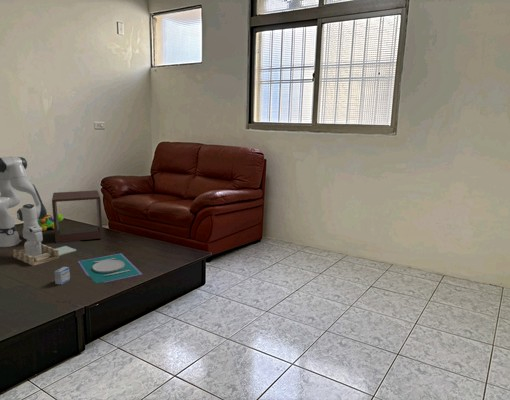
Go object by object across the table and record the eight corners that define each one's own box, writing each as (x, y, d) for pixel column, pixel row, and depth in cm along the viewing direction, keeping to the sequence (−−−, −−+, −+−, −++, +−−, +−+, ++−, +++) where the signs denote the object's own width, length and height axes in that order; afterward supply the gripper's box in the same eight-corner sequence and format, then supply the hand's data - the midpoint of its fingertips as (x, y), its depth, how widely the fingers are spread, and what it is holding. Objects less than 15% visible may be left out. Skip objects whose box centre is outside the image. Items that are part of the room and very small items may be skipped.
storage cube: (100, 228, 340) (97, 190, 333) (102, 238, 315) (100, 196, 307) (56, 232, 325) (53, 192, 318) (55, 242, 300) (51, 199, 292)
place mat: (77, 262, 265) (77, 259, 264) (121, 254, 282) (121, 251, 282) (93, 286, 229) (93, 282, 229) (142, 275, 247) (142, 271, 246)
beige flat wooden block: (31, 263, 260) (31, 260, 260) (48, 257, 271) (47, 255, 270) (35, 264, 258) (35, 261, 258) (52, 259, 268) (52, 256, 268)
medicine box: (61, 285, 227) (60, 272, 225) (55, 284, 228) (54, 271, 226) (70, 280, 235) (69, 266, 233) (63, 279, 235) (62, 266, 233)
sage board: (47, 251, 280) (47, 250, 280) (65, 246, 292) (65, 245, 291) (58, 256, 273) (58, 255, 272) (76, 250, 284) (76, 249, 284)
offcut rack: (13, 257, 268) (12, 249, 266) (39, 250, 283) (38, 242, 281) (32, 266, 254) (31, 257, 252) (59, 258, 269) (58, 250, 267)
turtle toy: (67, 226, 342) (66, 214, 340) (39, 232, 326) (38, 218, 323) (60, 223, 354) (59, 210, 351) (32, 227, 337) (31, 215, 334)
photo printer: (41, 254, 275) (40, 238, 272) (42, 256, 271) (40, 240, 268) (25, 257, 269) (23, 240, 266) (25, 259, 265) (23, 242, 263)
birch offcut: (33, 260, 260) (33, 257, 260) (46, 255, 269) (46, 252, 269) (37, 261, 259) (37, 258, 258) (50, 256, 268) (50, 253, 267)
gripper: (19, 226, 268) (21, 244, 271) (34, 230, 257) (36, 250, 260) (28, 224, 273) (30, 242, 276) (43, 228, 263) (45, 247, 266)
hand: (33, 246), depth 268 cm, fingers open, 8 cm apart
